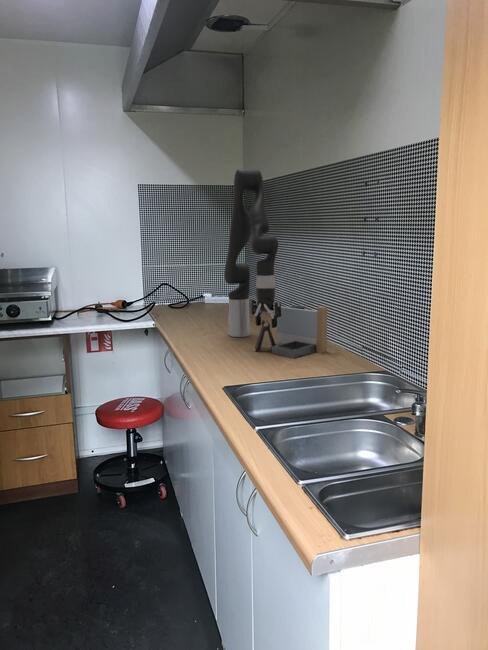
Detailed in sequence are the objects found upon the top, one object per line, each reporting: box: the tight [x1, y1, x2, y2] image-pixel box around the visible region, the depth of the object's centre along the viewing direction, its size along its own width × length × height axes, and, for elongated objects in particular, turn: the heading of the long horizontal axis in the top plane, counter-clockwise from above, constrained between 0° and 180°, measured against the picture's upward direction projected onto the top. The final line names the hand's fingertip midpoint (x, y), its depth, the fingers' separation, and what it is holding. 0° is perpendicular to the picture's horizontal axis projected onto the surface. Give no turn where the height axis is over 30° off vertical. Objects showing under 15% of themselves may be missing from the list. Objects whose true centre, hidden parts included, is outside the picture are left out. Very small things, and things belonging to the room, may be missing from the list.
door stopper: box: [254, 319, 277, 353], centre depth 215 cm, size 9×6×12 cm, turn 92°
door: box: [276, 306, 328, 354], centre depth 217 cm, size 24×3×18 cm, turn 45°
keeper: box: [271, 341, 317, 359], centre depth 210 cm, size 11×14×3 cm
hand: (266, 326), depth 214 cm, fingers open, 8 cm apart
